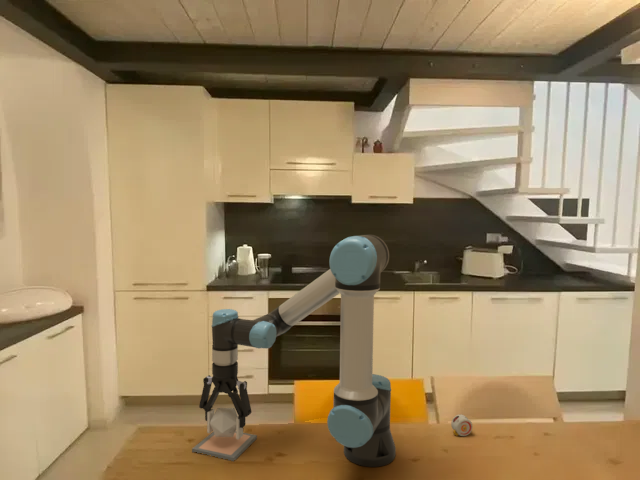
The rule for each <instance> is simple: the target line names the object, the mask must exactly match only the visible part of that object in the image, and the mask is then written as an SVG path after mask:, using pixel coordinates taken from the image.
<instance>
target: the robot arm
mask: <svg viewBox="0 0 640 480" xmlns="http://www.w3.org/2000/svg"><path fill="white" fill-rule="evenodd" d="M389 261H390V251H389V248H388V245H387V244H386V242H385V241H384V240H383V239H382V238H380V237H379V236H377V235H374V234H368V233H367V234H361V235H353V236H351V235H350V236H348V237H346V238H344V239H343V240H340V241H339V242H338V243H336V244H335V246H334V247H333V248H332V250H331V252H330V256H329V262H328V263H329V269H328V270H326V271H325V272H324V273H322V274H321V275H320V276H318V277H317V278H316V279H314V280H313V281H312V282H310V283H309V284H308V285H306V286H305V287H303V288H301V289H300V290H299V291H298V292H297V293H295V294H294V295H292V296H291V297H290V298H288V299H287V300H285V301H284V302H283V303H282V304H280V305H279V306H277V307H276V308H275V309H273V310H272V311H270V312H269V313H266V314H265V315H262V316H259V317H257V318H255V319H246V318H245V319H244V318H239V313H238V311H237V310H235V309H232V308H223V309H217V310H215V311H214V312H213V313H212V319H211V322H212V323H211V333H212V345H211V346H212V349H211V361H212V364H211V371H212V374H211V375H212V376H211V375H207V376H206V377H204V378H203V382H202V383H203V388H202V391H201V397H200V399H199V400H200V401H199V405H198V407H199V408H200V409H202V410H204V416H205V417H204V420H205V421H206V424H207V425H206V429H207V430H206V433H207V434H211V433H212V432H213V429H212V427H211V425H210V422H211V420H212V418H213V416H214V414H215V408H213V406H214V404H215V402H216V400H217V398H218V397H219V395H220V393H221V394H222V393H224V394H227V396H228V397H229V398H230V400H231V402H232V404H233V408H235V411H236V413H237V416H238V417H237V418H236V439H238V440H239V439H240V438H241V437H242V436H243V433H244V428H245V427H246V418H247V417H248V416H250V415H251V414H252V407H251V406H252V405H251V402H250V397H249V393H248V389H247V388H248V382H247V381H246V380H244V381H241V380H239V379H238V373H239V370H238V369H239V363H238V359H239V357H238V355H239V350H238V349H239V346H243V347H245V346H246V347H250V348H255V349H267V350H268V349H270V348H272V346H273V345H274V343H275V342H276V340H277V339H276V338H278V337H279V336H281V335H284V334H286V333H287V332H288V331H289V330H290V329H291V328H292V327H293V326H295V325H296V324H298V323H299V322H301V321H302V320H304V319H305V318H306V317H308V316H309V315H311V314H312V313H313V312H315V311H316V310H318V309H319V308H321V307H322V306H324V305H325V304H326V303H328V302H330V301H331V300H332V299H334V298H336V297H337V296H338V295H339V294H340V328H339V329H340V333H339V334H340V338H339V341H340V342H339V383H338V384H336V385H335V387H334V388H333V407H332V408H331V410H330V411H329V413H328V416H327V421H326V422H327V429H328V431H329V433H330V435H331V436H332V437H333V438H334V439H335V441H336V442H337V443H338V444H341V445H342V446H343V454H344V456H345V457H346V459H347V460H348V461H350V462H351V463H353V464H356V465H358V466H361V467H368V468H369V467H370V468H373V467H374V468H377V467H378V468H379V467H383V466H386V465H389V464H391V463H392V462H393V461H394V460H395V458H396V453H397V452H396V444H395V441H394V437H393V435H392V431H391V403H392V402H391V397H392V394H391V393H392V385H391V380H390V379H389V378H388V377H387V376H383V375H380V374H374V373H373V363H374V361H373V360H374V359H373V358H374V357H373V355H374V315H375V313H374V312H375V311H374V309H375V295H376V294H377V292H378V291H380V289H381V273H382V272H383V271H384V270H385V269H386V267H387V266H388V264H389ZM212 384H213V386H214V388H213V389H212V391H211V388H212ZM210 392H211V394H210Z"/></svg>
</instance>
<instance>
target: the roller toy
mask: <svg viewBox="0 0 640 480" xmlns="http://www.w3.org/2000/svg"><path fill="white" fill-rule="evenodd" d="M450 423H451V424H450V425H451V428H452V434H453V435H454V436H456V437H457V436H461V437H466V436H469V434H471V433H472V431H473V423H472V421H471V419H469V418H468V417H467V416H466V415H464V414H456V415H455V416H453V418H452V420H451V422H450Z"/></svg>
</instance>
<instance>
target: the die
mask: <svg viewBox="0 0 640 480" xmlns="http://www.w3.org/2000/svg"><path fill="white" fill-rule="evenodd" d="M237 417H238V414H237V411H236V409H235V407H217V408H216V410H215V411H214V416H213V418H212V420H211V422H210V425H211V427H212V429H213V431H212V432H214V434H215V436H216V437H233V435H234V433H235V431H236V418H237Z"/></svg>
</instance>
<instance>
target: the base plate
mask: <svg viewBox="0 0 640 480" xmlns="http://www.w3.org/2000/svg"><path fill="white" fill-rule="evenodd" d="M257 439H258V435H257V434H251V433H247V432H243V436H242V437H241V438H240V439H239V440H238V439H236V431H235V433H234V435H233V437H216V436H215V434H214V432H213V431H212V432H211V433H209V434H208V435H207V436H206V437H204V438H203V439H202V440H201V441H200V442H198V443H197V444H196V445H195V446H193V447H192V448H191V453H194V452H197V453H196V454H198V453H203V454H207V455H211V456H210V457H212V456H215V457H214V458H216V457H218V458H217V459H221V458H223V459H222V460H225V459H228V460H227V461H230V460H231V462H235V461H236V460H237V459H238V458H239V457H240V456H242V454H243V453H244V452H245V451H246V450H247V449H248V448H249V447H250V445H252V444H253V443H254V442H255V441H256V440H257ZM203 454H202V455H203ZM207 455H206V456H207ZM234 460H235V461H234Z"/></svg>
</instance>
